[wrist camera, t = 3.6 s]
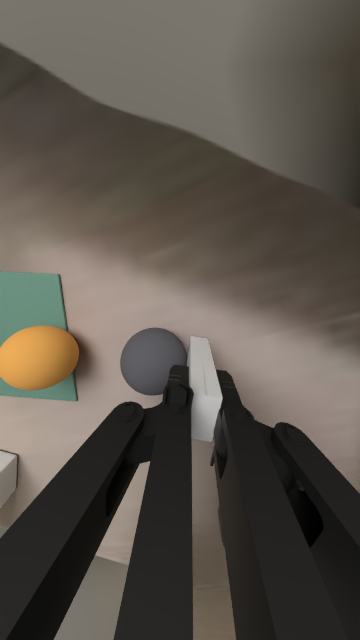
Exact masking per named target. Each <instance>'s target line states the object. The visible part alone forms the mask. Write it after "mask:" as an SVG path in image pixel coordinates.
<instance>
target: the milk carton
mask: <svg viewBox="0 0 360 640" xmlns="http://www.w3.org/2000/svg"><path fill="white" fill-rule="evenodd" d="M16 478H17V455H14V454H11V453H7V452H3V451H0V508H1V507H2V506H3V504H4V503H5V502H6V501H7V499H8V498H9V497H10V496H11V494H12V493H13V492H14V491H15V489H16Z"/></svg>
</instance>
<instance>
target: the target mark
mask: <svg viewBox="0 0 360 640" xmlns="http://www.w3.org/2000/svg"><path fill="white" fill-rule="evenodd" d="M40 325H47V326H54V327H58V328H60V329H63V330H65V331H66V332H68V330H67V323H66V316H65V309H64V302H63V295H62V288H61V281H60V275H59V274H39V273H20V272H1V271H0V347H1V346H2V344H3V343H4V342H5V341H6V340H7V339H8V338H9V337H10V336H12V335H13V334H15V333H16V332H18V331H20V330H23V329H25V328H29V327H32V326H40ZM0 395H2V396H15V397H28V398H40V399H53V400H66V401H77V400H78V399H77V392H76V385H75V379H74V372H73V371H72V373H71V374H70V375H69V376H68V377H67V378H65V379H64V380H63V381H61V382H60V383H58V384H56V385H54V386H51V387H49V388H45V389H41V390H22V389H18V388H15V387H13V386H11V385H9V384H8V383H6V382H5V381H4V380H3V379H2V378H1V377H0Z"/></svg>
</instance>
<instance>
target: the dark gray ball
mask: <svg viewBox="0 0 360 640" xmlns="http://www.w3.org/2000/svg"><path fill="white" fill-rule="evenodd" d="M120 364H121V371H122V374H123V377H124V379H125V380H126V382H127V383H128V385H129V386H130V387H131V388H133V389H134V390H135V391H137V392H139V393H142V394H145V395H160V394H163V392H164V388H165V386H166V385H167V382H168V377H169V372H170V368H171V367H172V366H173V365H181V366H186V365H187V356H186V351H185V348H184V346H183V344H182V342H181V341H180V340H179V338H178V337H177V336H176V335H174V334H173V333H171V332H170V331H168V330H165V329H161V328H149V329H145V330H142V331H140V332H138V333H136V334H135V335H134V336H132V337H131V338H130V339H129V341H128V342H127V343H126V345H125V347H124V349H123V351H122V354H121V361H120Z"/></svg>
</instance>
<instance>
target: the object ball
mask: <svg viewBox="0 0 360 640" xmlns="http://www.w3.org/2000/svg"><path fill="white" fill-rule="evenodd" d="M78 358H79V348H78V345H77V343H76V341H75V339H74V338H73V337H72V336H71V335H70V334H69V333H68V332H66V331H65V330H63V329H60V328H58V327H54V326H47V325H40V326H32V327H29V328H25V329H23V330H20V331H18V332H16V333H15V334H13V335H12V336H10V337H9V338H8V339H7V340H6V341H5V342H4V343H3V344H2V346H1V347H0V377H1V378H2V379H3V380H4V381H5V382H6V383H8V384H9V385H11V386H13V387H15V388H18V389H22V390H41V389H45V388H49V387H51V386H54V385H56V384H58V383H60V382H61V381H63V380H64V379H65V378H67V377H68V376H69V375H70V374H71V373H72V371H73V370H74V368H75V367H76V364H77V362H78Z"/></svg>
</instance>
